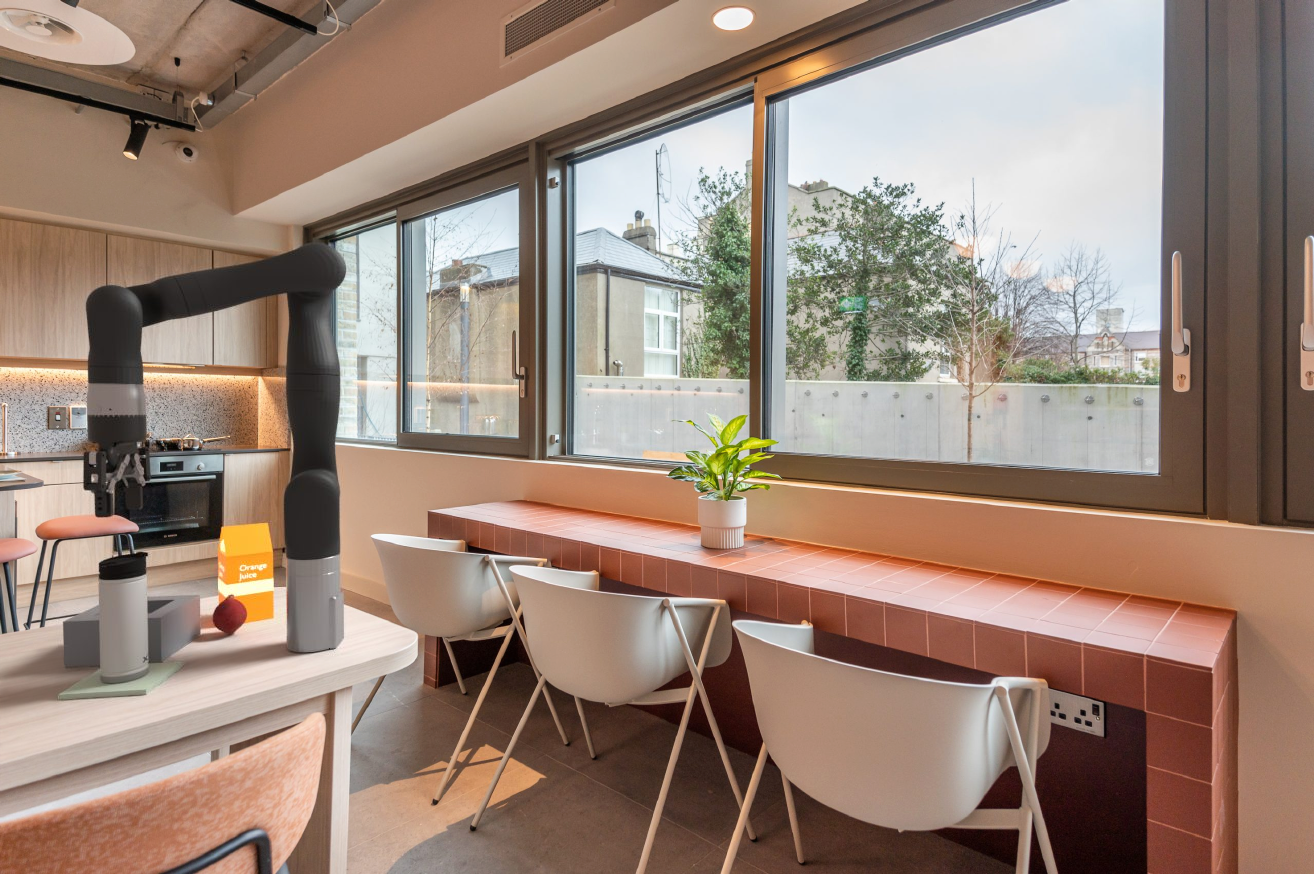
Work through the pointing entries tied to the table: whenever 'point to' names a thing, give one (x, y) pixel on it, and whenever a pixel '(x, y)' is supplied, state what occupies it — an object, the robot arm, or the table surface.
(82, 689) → the mat
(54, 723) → the table surface
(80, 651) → the holder
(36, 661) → the table surface
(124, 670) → the travel mug
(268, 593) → the orange juice
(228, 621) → the onion
